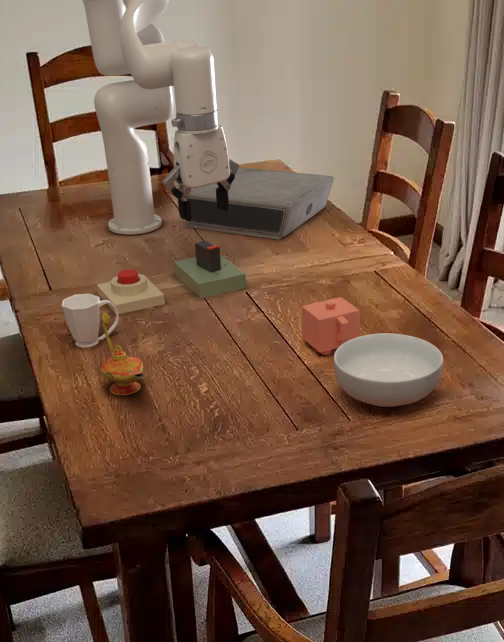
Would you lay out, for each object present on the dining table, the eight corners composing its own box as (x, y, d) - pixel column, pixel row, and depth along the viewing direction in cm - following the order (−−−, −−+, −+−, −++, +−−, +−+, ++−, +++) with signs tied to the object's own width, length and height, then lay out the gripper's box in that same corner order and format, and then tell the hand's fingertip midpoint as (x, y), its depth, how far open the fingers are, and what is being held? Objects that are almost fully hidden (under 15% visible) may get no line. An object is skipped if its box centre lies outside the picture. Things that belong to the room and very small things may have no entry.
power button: (115, 280, 187) (114, 271, 186) (135, 276, 189) (134, 267, 188) (122, 287, 184) (121, 278, 183) (141, 283, 186) (140, 274, 185)
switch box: (97, 293, 192) (95, 274, 189) (144, 283, 195) (142, 265, 192) (116, 315, 182) (113, 295, 180) (165, 304, 186) (163, 284, 183)
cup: (63, 339, 174) (55, 298, 170) (114, 327, 178) (108, 286, 173) (74, 354, 169) (67, 312, 164) (127, 341, 173) (121, 299, 168)
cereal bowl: (365, 432, 143) (366, 390, 138) (315, 385, 155) (315, 346, 151) (461, 405, 148) (465, 364, 144) (405, 363, 160) (407, 324, 156)
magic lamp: (126, 421, 149) (117, 357, 142) (92, 375, 162) (82, 315, 156) (167, 410, 151) (160, 347, 145) (130, 365, 164) (122, 306, 158)
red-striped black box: (196, 265, 194) (194, 242, 191) (206, 262, 195) (204, 239, 192) (211, 272, 190) (209, 249, 187) (221, 269, 191) (219, 246, 188)
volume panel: (174, 275, 198) (173, 260, 196) (219, 266, 201) (217, 251, 199) (200, 298, 187) (198, 283, 185) (246, 288, 190) (245, 273, 189)
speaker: (176, 227, 223) (291, 241, 211) (173, 193, 219) (289, 206, 206) (226, 197, 240) (335, 209, 228) (224, 165, 236) (334, 175, 223)
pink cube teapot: (332, 327, 173) (332, 284, 169) (365, 352, 164) (366, 308, 160) (294, 336, 171) (293, 293, 166) (325, 362, 162) (325, 317, 157)
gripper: (167, 133, 170) (176, 229, 180) (247, 116, 178) (252, 209, 188) (146, 125, 175) (156, 220, 185) (225, 109, 183) (231, 200, 193)
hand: (204, 214), depth 186 cm, fingers open, 7 cm apart
